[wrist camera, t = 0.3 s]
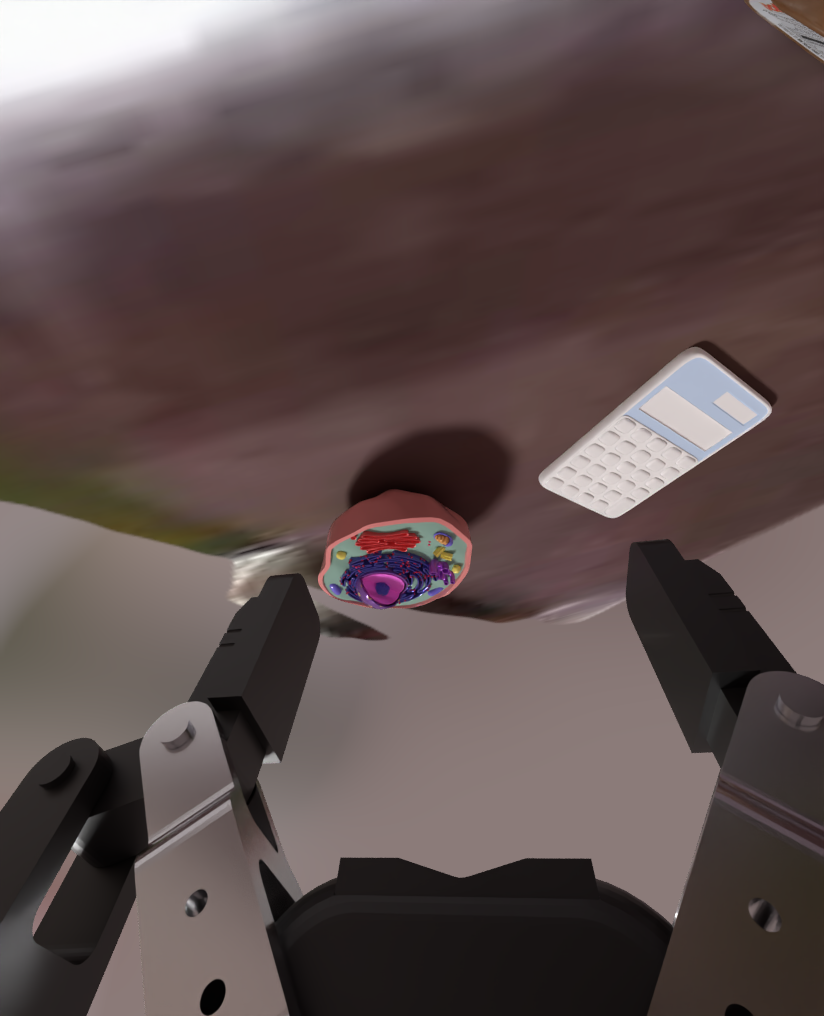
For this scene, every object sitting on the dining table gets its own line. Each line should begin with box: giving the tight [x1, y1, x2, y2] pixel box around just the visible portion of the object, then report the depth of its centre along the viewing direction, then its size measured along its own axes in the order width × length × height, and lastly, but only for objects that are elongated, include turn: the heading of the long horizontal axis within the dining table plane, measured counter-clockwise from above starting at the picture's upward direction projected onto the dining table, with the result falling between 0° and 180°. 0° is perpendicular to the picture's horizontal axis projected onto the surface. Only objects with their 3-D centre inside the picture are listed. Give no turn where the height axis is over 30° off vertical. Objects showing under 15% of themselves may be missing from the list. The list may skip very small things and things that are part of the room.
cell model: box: [318, 489, 472, 609], centre depth 53 cm, size 17×20×11 cm
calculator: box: [539, 347, 772, 518], centre depth 49 cm, size 13×20×2 cm, turn 148°
